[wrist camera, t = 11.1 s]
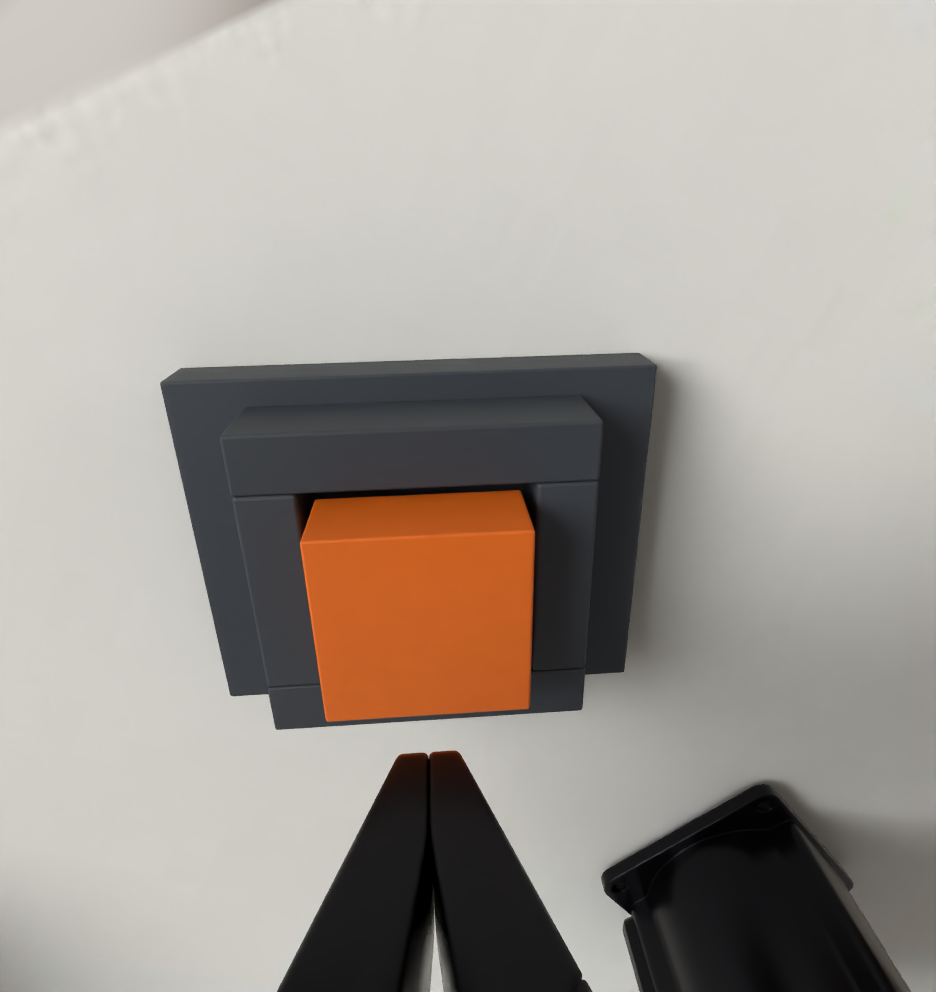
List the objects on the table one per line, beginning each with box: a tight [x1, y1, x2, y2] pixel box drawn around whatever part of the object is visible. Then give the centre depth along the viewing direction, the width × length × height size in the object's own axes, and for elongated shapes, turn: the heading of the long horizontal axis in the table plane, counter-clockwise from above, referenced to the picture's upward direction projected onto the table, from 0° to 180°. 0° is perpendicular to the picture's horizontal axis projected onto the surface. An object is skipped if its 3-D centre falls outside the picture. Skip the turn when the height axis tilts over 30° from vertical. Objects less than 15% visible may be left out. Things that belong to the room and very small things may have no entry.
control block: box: [160, 353, 657, 730], centre depth 14 cm, size 10×8×3 cm
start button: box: [300, 490, 535, 722], centre depth 12 cm, size 4×4×2 cm
